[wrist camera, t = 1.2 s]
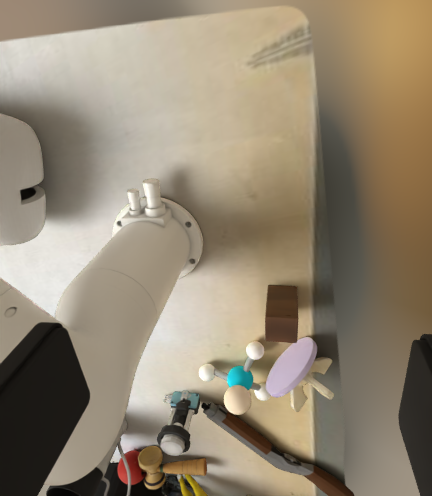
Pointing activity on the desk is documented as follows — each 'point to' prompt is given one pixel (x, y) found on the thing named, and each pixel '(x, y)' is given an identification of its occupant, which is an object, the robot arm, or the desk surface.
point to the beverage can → (174, 487)
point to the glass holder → (93, 475)
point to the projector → (20, 182)
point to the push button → (178, 423)
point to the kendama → (156, 467)
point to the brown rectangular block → (281, 314)
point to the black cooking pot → (123, 485)
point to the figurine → (197, 489)
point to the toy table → (298, 372)
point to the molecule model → (239, 381)
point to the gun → (274, 451)
